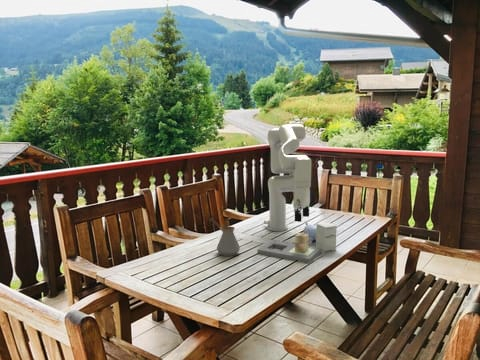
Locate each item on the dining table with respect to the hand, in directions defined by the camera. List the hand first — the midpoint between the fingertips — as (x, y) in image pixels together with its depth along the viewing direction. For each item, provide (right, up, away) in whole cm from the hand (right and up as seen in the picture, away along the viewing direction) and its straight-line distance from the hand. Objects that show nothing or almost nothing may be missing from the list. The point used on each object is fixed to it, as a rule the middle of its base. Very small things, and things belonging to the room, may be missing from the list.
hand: (301, 218), depth 198 cm
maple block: (0, -16, +2) cm, 16 cm away
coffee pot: (-38, -17, +10) cm, 43 cm away
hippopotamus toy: (+10, -15, +23) cm, 29 cm away
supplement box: (+14, -16, +12) cm, 25 cm away
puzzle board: (-5, -17, +6) cm, 19 cm away
